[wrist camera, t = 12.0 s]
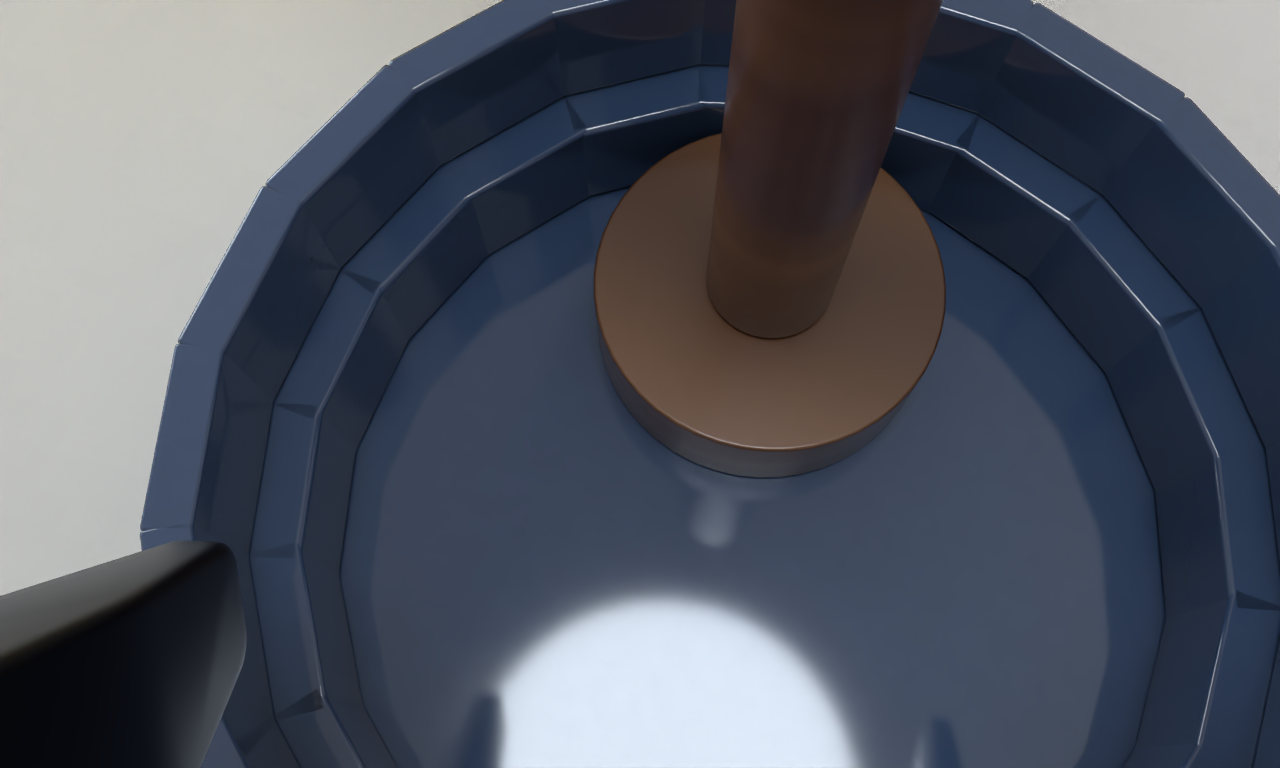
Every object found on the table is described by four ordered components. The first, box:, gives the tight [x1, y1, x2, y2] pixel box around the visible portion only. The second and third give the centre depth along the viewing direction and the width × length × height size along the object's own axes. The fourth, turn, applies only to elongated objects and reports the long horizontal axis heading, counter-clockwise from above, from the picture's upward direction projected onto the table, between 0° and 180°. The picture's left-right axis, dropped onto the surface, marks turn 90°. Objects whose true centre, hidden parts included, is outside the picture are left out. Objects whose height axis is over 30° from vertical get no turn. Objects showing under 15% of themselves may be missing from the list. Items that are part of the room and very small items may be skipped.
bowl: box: [140, 0, 1280, 768], centre depth 15 cm, size 14×14×4 cm
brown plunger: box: [594, 0, 946, 478], centre depth 11 cm, size 5×5×14 cm
